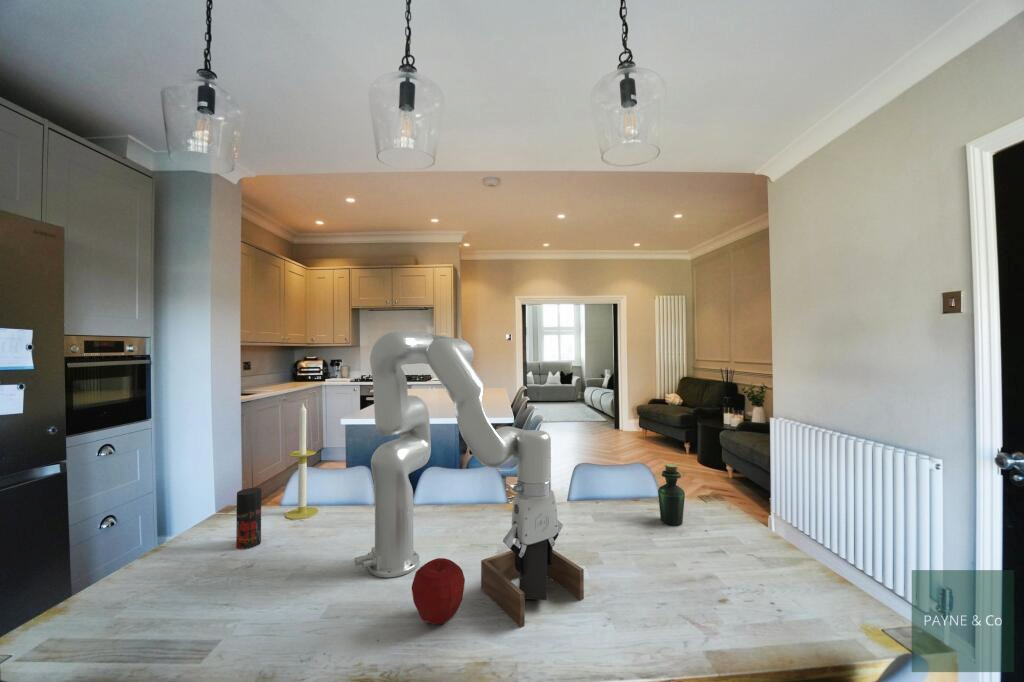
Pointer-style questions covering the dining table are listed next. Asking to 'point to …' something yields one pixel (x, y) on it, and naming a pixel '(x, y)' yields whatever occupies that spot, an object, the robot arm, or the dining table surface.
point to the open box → (503, 570)
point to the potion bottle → (671, 497)
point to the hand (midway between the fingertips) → (534, 566)
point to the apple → (438, 590)
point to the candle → (302, 472)
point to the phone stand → (535, 572)
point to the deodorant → (248, 518)
